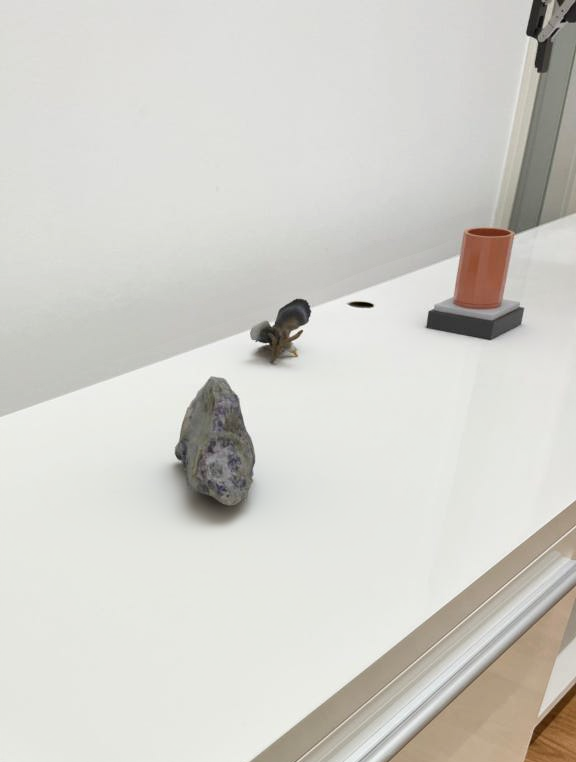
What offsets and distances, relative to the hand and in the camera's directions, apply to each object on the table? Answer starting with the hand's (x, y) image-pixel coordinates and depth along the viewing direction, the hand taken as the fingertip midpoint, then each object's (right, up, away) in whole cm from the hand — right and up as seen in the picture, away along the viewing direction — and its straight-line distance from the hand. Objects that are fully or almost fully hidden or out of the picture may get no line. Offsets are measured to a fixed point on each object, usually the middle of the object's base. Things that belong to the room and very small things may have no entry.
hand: (572, 73), depth 143 cm
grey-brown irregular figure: (-43, -43, -12) cm, 62 cm away
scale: (-15, -36, -4) cm, 39 cm away
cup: (-15, -34, -5) cm, 37 cm away
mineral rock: (-56, -65, -46) cm, 97 cm away
